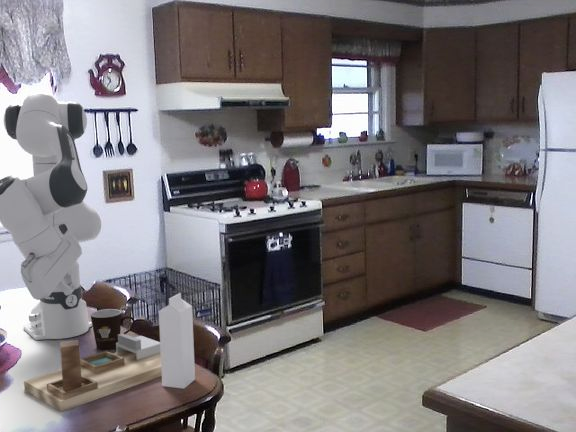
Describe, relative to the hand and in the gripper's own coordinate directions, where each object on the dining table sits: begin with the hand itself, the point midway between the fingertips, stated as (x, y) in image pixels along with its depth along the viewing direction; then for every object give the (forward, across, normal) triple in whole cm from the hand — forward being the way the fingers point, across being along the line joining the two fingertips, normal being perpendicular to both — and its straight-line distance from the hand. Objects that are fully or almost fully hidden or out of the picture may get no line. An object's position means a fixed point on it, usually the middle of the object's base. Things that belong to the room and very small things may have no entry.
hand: (71, 291), depth 149 cm
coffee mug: (+30, +20, +14) cm, 39 cm away
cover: (+28, +11, +1) cm, 30 cm away
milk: (+31, -3, -14) cm, 34 cm away
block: (+18, -13, +5) cm, 22 cm away
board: (+25, -2, +4) cm, 25 cm away
